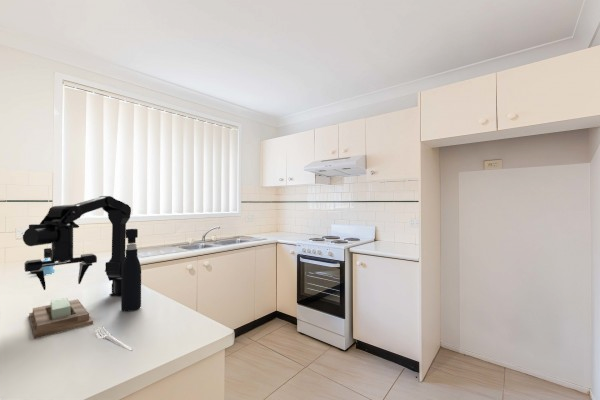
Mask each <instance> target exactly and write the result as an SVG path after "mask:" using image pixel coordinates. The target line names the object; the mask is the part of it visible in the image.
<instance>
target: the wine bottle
mask: <svg viewBox="0 0 600 400" xmlns="http://www.w3.org/2000/svg"><path fill="white" fill-rule="evenodd" d="M138 230H139V229H138V228H126V239H127V245H126V249H125V257H126V258H125V260H124V263H123V267H122V274H121V297H120V298H121V300H120V304H121V305H120V307H121V308H120V309H121V312H123V313H124V312H132V311H133V312H134V311H137V310H139V309H141V308H142V267H141V263H140V259H139V257H138V249H137V246H138V245H137V243H136V241H137V240H136V238H138ZM140 307H141V308H140Z"/></svg>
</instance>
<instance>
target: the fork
mask: <svg viewBox="0 0 600 400" xmlns="http://www.w3.org/2000/svg"><path fill="white" fill-rule="evenodd" d="M93 330H94V334H95V337H96V338H98V339H101V340H104V339H108V340H109V341H111V342H112V343H114V344H116V345H118V346H119V347H122V348H124V349H126V350H128V351H129V352H131V351H132V352H133V350H134V349H133V348H131V347H130V346H128V345H127V344H125V343H124V342H122V341H120V340H119V339H117V338H116V337H114V336H113V334H112V333H110V332H109V331H108V330H107V329H106V328H105V327H104V325H102V326H101V327H100V326H99V327H96V328H94V329H93ZM100 335H101V336H100ZM103 336H105V337H103ZM99 337H102V338H99Z"/></svg>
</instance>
